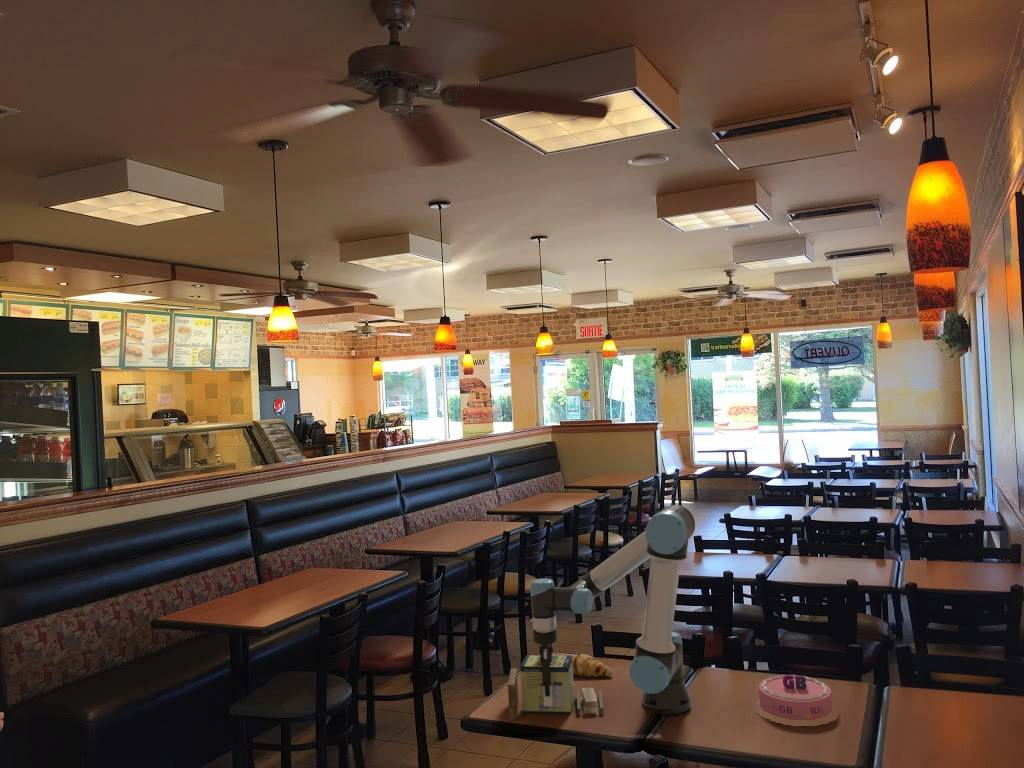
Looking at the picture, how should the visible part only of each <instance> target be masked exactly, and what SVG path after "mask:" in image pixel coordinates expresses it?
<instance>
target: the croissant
mask: <svg viewBox="0 0 1024 768" xmlns="http://www.w3.org/2000/svg"><path fill="white" fill-rule="evenodd" d="M572 665H573V676H576V675H579V676H578V677H581V676H584V677H583V678H592V677H591V676H594V678H599V677H598V676H601V677H604V678H606V676H607V677H611V676H612V675H613V670H612V669H611V668H610V667H609V666H608V665H607V664H604V663H603V662H602V661H601V660H600V659H596V658H595V659H594V658H593V657H592V656H591V655H588V654H585V653H578V654H577V655H576V656H572Z"/></svg>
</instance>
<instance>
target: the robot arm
mask: <svg viewBox="0 0 1024 768" xmlns="http://www.w3.org/2000/svg"><path fill="white" fill-rule="evenodd" d="M695 529H696V521H695V517H694V515H693V513H692V512H691V511H690V510H689V509H688V508H686V507H685V506H682V505H681V504H680V505H679V504H671V505H668V506H666V507H664V508H663V509H662V510H660V511H658V512H656V513H654V514H653V516H652V517H650V519H649V520H648V522H647V525H646V527H645V530H644V531H642V532H641V533H640V534H639V535H638V536H636V537H634V538H633V539H632V540H631V541H630V542H628V543H627V544H625V545H624V546H622V547H621V548H620V549H619V550H618V551H616V552H615V553H613V554H612V555H610V556H609V557H608V558H606V559H605V560H604V561H603V562H601V563H600V564H598V565H597V566H596V567H594V568H593V569H591V571H589V572H588V573H586V574H585V575H583V576H582V577H580V578H579V579H578V580H577V581H576V582H574V583H573V584H571V585H570V586H569V587H567V586H566V587H561V586H560V587H559V586H555V581H553V579H550V578H537V579H534V580H532V581H531V583H530V604H531V616H532V618H530V622H531V623H532V629H533V630H532V639H533V640H532V641H533V643H535V644H537V645H540V646H539V656H540V657H541V663H542V677H543V683H541V686H543V698H544V706H553V701H552V684H551V675H550V663H551V662H552V658H551V657H552V656H553V655H552V654H553V645H551V644H554V643H556V642H557V641H558V633H557V629H556V628H557V614H556V612H559V613H571V614H578V615H579V614H588V613H590V612H591V611H592V608H593V602H594V599H595V598H596V597H598V596H600V594H602V593H604V592H605V591H606V590H607V589H608V588H610V587H612V586H613V585H614V584H616V583H618V581H620V580H621V579H623V578H624V577H625V576H627V575H629V574H630V573H631V572H633V571H634V570H635V569H637V568H638V567H640V566H641V565H643V564H644V563H646V561H648V560H649V559H650V566H649V575H648V584H647V591H646V599H645V608H644V616H643V617H644V618H643V626H642V634H641V636H640V637H638V638H637V639H636V640H635V641H636V642H635V649H634V650H635V651H634V657H633V659H632V660H631V663H630V665H629V677H630V680H631V682H632V683H633V684H634V686H635V687H636V688H637V689H638V690H640V691H641V692H642V697H641V705H642V706H643V707H644V708H645V709H648V710H649V711H652V712H655V713H656V715H659V716H660V715H661V716H675V715H674V714H677V715H679V714H678V713H682V712H685V711H687V710H688V709H689V708H690V707H692V701H691V697H690V696H691V695H690V694H689V691H688V687H687V685H686V683H685V677H684V675H685V674H684V657H683V654H684V653H683V641H682V639H683V638H682V636H681V634H680V633H678V632H675V631H673V629H674V619H675V612H676V611H675V610H676V603H677V595H678V593H677V592H678V585H679V578H680V577H679V576H680V570H681V569H680V568H681V563H682V562H684V561H685V560H686V559H687V554H688V547H689V540H690V539H691V537H692V536H693V535H694V532H695ZM545 681H549V682H545ZM690 709H691V708H690ZM690 709H689V710H690ZM689 710H688V711H689ZM688 711H687V712H688ZM685 713H686V712H685ZM682 714H683V713H682Z"/></svg>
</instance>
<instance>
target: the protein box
mask: <svg viewBox="0 0 1024 768" xmlns="http://www.w3.org/2000/svg"><path fill="white" fill-rule="evenodd" d="M572 657H573V656H572V655H552V657H551V658H552V662H551V663H550V675H551V684H552V701H553V706H544V698H543V686H541V683H543V677H542V663H541V657H540V655H534V654H533V655H532V654H531V655H530V654H527V655H525V657H524V659H523V661H522V662H521V664H520V667H519V669H520V681H521V682H520V684H521V685H520V686H521V698H522V699H521V700H522V716H527V714H546V715H548V714H550V715H551V714H552V715H572V712H573V710H574V706H575V705H576V704H575V703H576V697H575V694H576V693H575V683H574V675H573V665H572ZM545 682H549V681H545Z"/></svg>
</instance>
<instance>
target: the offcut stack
mask: <svg viewBox="0 0 1024 768" xmlns="http://www.w3.org/2000/svg"><path fill="white" fill-rule="evenodd" d="M581 695H582V696H581V697H583V705H584V714H588V713H597V707H598V705H597V699H596V697H597V695H596V692H595V690H594V687H583V688H581Z"/></svg>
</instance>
